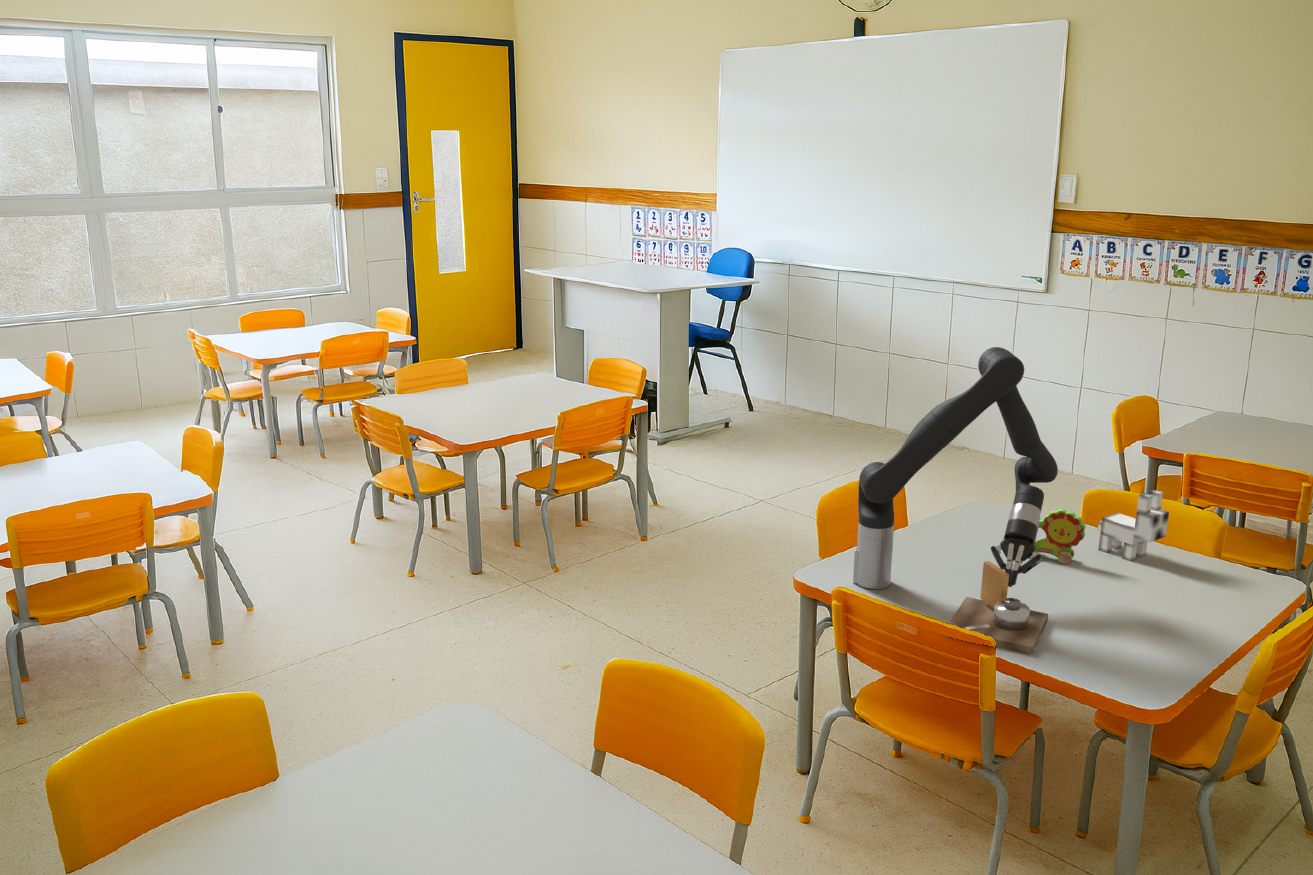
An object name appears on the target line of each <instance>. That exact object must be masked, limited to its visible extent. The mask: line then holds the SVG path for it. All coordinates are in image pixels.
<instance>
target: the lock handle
mask: <svg viewBox="0 0 1313 875" xmlns="http://www.w3.org/2000/svg"><path fill="white" fill-rule="evenodd" d="M1008 581H1009V574H1008V573H1006V572H1005V570H1002V569H1001V568H1000V567H999V566H997V565H996V564H994V563H993V562H992V561H990V560H987V561H983V565H982V576H981V586H980V600H983V601H985V602H986V603H987V604H989V605H990V606H991V607H993V608H994V617H993V621H994V623H995V624H996V625H998V626H1000V627H1002V628H1005V629H1010V630H1021V629H1025V628H1027V627H1028V622H1029V612H1030V610H1031V609H1030V607H1029V606H1028V605H1027V604H1025V603H1023V602H1021V600H1020V599H1018V598H1013V597H1008V590H1009V587H1008Z"/></svg>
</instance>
